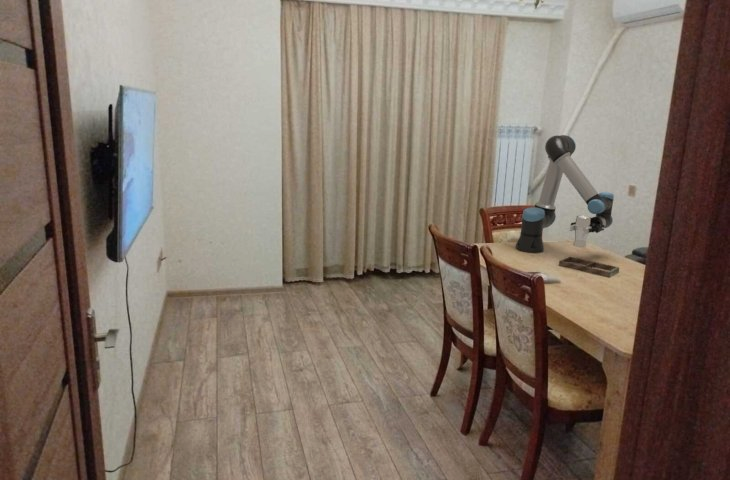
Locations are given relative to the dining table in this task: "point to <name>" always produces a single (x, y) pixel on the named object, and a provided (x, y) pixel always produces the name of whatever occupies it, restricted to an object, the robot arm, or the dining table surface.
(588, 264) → the two-cell rack
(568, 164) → the robot arm
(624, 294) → the dining table surface
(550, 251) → the dining table surface
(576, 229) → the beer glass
